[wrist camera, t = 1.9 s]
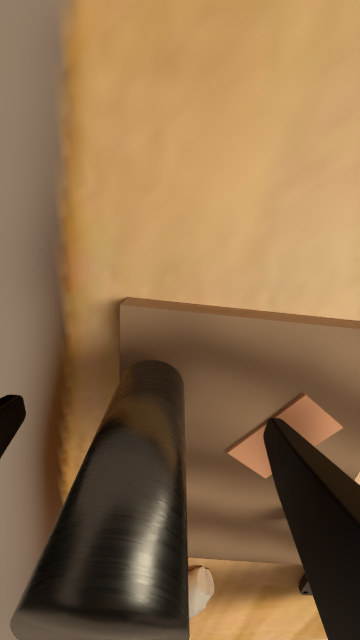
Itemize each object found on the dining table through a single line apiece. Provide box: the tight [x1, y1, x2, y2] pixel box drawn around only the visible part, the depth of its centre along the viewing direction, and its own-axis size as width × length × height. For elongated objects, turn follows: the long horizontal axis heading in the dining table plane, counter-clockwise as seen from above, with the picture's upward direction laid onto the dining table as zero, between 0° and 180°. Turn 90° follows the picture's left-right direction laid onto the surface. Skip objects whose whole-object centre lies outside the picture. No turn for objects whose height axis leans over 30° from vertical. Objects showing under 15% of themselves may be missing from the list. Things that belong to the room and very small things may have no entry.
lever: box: [10, 360, 190, 640], centre depth 10 cm, size 19×4×8 cm, turn 174°
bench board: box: [120, 297, 360, 565], centre depth 13 cm, size 22×16×4 cm
